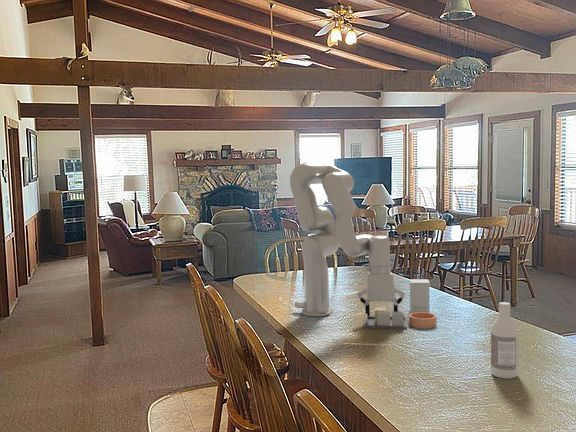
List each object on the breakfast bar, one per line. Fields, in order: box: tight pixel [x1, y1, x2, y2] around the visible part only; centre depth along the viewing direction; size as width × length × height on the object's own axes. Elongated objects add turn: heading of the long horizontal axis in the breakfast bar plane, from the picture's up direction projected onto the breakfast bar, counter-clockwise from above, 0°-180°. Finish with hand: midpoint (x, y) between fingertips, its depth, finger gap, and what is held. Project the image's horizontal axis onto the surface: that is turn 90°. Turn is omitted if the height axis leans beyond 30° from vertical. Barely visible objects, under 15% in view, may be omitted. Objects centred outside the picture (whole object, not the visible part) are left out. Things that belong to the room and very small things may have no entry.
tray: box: [363, 315, 408, 330], centre depth 204 cm, size 15×13×1 cm
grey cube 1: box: [377, 310, 391, 326], centre depth 201 cm, size 4×4×5 cm
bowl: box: [408, 312, 438, 329], centre depth 202 cm, size 10×10×4 cm
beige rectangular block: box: [374, 306, 387, 324], centre depth 206 cm, size 4×4×5 cm
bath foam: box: [490, 301, 519, 380], centre depth 152 cm, size 7×7×20 cm
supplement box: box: [409, 278, 430, 314], centre depth 219 cm, size 7×7×13 cm
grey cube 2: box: [391, 310, 405, 326], centre depth 199 cm, size 4×4×5 cm
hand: (381, 315), depth 205 cm, fingers open, 9 cm apart
